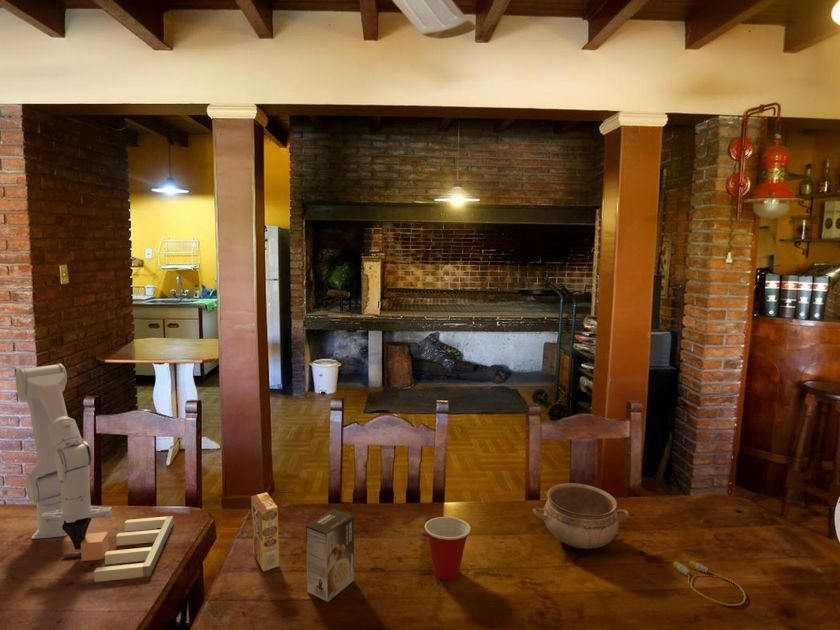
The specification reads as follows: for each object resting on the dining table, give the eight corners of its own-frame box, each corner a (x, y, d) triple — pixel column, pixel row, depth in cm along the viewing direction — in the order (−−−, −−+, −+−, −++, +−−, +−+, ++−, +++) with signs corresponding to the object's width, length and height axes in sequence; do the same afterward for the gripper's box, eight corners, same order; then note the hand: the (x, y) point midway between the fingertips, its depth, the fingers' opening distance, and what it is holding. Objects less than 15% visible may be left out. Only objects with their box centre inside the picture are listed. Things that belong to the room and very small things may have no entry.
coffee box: (333, 571, 124) (333, 507, 122) (354, 580, 121) (355, 515, 119) (306, 592, 117) (305, 524, 114) (327, 603, 113) (327, 533, 111)
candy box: (280, 566, 126) (279, 506, 123) (262, 572, 123) (261, 511, 121) (268, 548, 133) (267, 491, 131) (251, 553, 130) (250, 495, 128)
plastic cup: (467, 559, 130) (468, 514, 128) (470, 588, 119) (472, 538, 118) (423, 558, 130) (424, 512, 128) (423, 586, 119) (424, 537, 118)
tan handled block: (67, 552, 129) (66, 535, 129) (109, 548, 131) (108, 531, 131) (59, 563, 125) (58, 545, 124) (102, 559, 127) (101, 541, 126)
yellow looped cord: (719, 567, 130) (720, 559, 130) (757, 611, 114) (758, 602, 114) (669, 564, 131) (670, 557, 130) (700, 608, 115) (701, 599, 115)
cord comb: (126, 528, 141) (126, 519, 140) (173, 524, 143) (172, 515, 143) (94, 582, 119) (93, 571, 118) (150, 576, 121) (149, 566, 121)
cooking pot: (539, 562, 129) (541, 515, 128) (524, 522, 148) (526, 481, 147) (640, 564, 129) (644, 518, 128) (613, 524, 148) (616, 483, 147)
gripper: (33, 504, 120) (37, 559, 122) (103, 499, 123) (106, 553, 125) (47, 490, 127) (51, 543, 129) (113, 485, 130) (116, 537, 132)
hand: (79, 547), depth 128 cm, fingers closed
